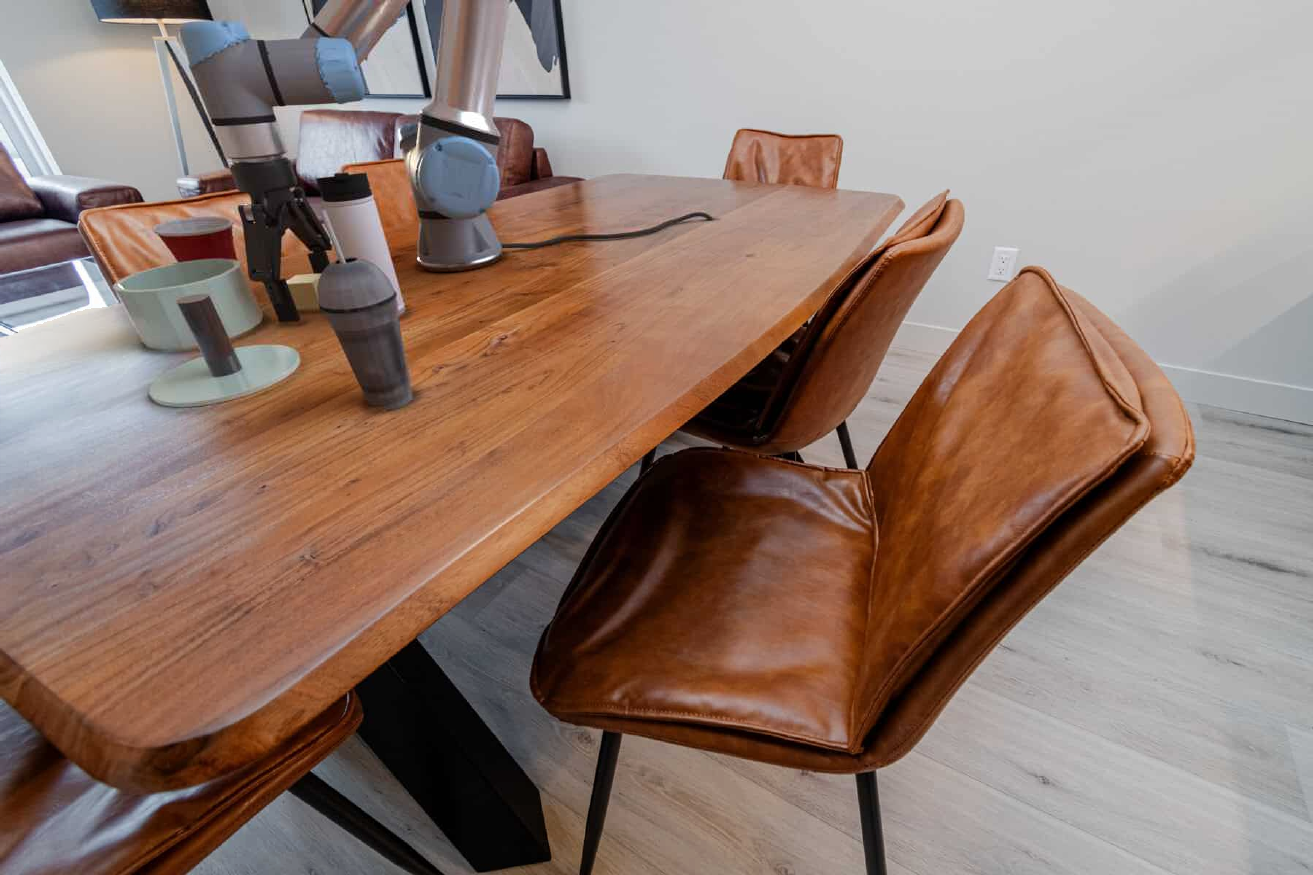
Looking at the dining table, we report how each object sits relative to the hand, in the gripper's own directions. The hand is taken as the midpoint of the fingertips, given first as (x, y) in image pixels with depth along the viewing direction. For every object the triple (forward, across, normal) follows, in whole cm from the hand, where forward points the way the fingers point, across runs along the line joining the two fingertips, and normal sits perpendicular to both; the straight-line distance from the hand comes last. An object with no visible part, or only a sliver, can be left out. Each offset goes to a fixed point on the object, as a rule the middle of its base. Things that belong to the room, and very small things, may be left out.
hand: (311, 307), depth 93 cm
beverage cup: (0, +33, +23) cm, 40 cm away
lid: (0, +25, +1) cm, 25 cm away
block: (0, 0, 0) cm, 0 cm away
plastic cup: (0, -9, -19) cm, 21 cm away
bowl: (0, +8, -12) cm, 14 cm away
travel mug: (0, +6, +13) cm, 15 cm away
